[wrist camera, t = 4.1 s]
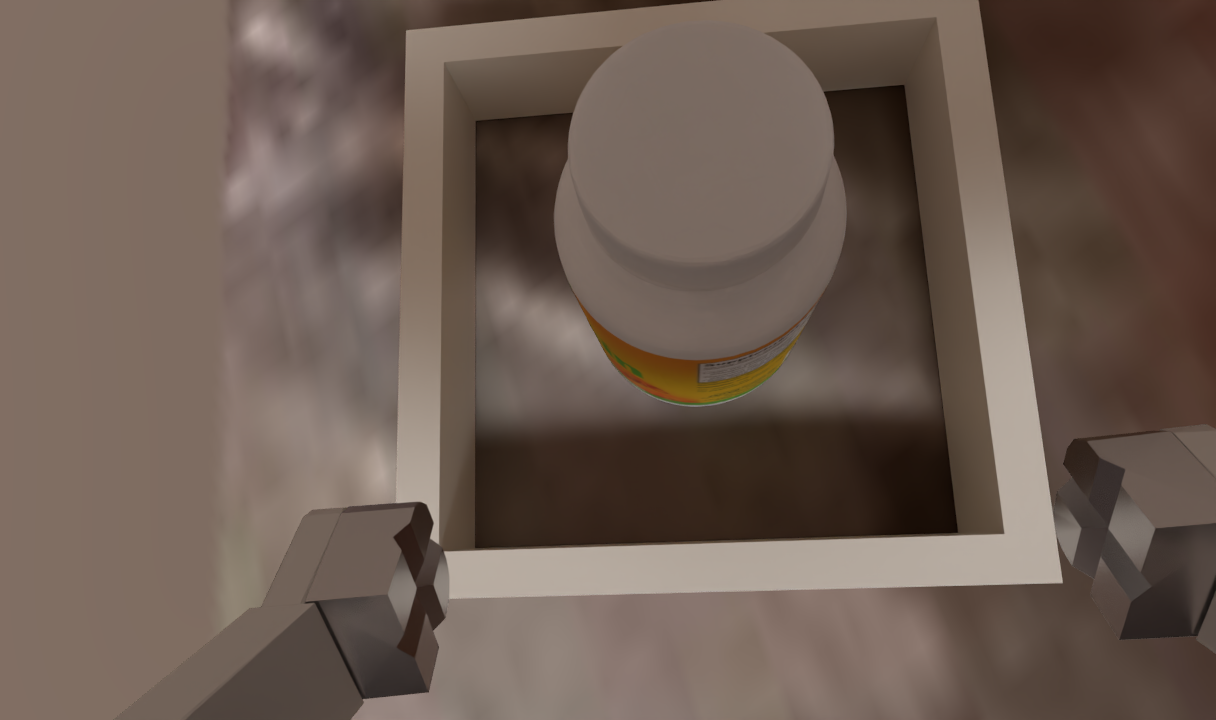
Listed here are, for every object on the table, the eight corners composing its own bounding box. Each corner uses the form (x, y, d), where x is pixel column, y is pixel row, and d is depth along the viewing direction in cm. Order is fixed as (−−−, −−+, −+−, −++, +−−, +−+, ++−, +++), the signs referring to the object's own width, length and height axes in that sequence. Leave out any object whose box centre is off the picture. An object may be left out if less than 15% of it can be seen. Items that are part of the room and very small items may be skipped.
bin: (938, 48, 22) (974, -25, 19) (1007, 574, 19) (1062, 583, 16) (442, 92, 23) (405, 30, 20) (436, 589, 21) (393, 599, 18)
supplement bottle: (563, 269, 22) (462, 73, 12) (739, 181, 22) (772, -82, 12) (650, 445, 21) (613, 377, 11) (838, 352, 21) (958, 205, 11)
